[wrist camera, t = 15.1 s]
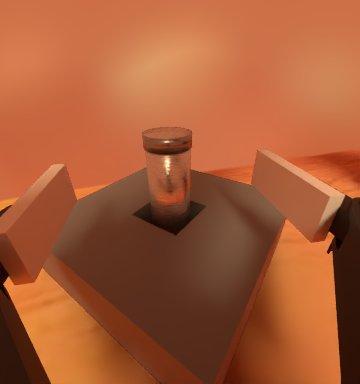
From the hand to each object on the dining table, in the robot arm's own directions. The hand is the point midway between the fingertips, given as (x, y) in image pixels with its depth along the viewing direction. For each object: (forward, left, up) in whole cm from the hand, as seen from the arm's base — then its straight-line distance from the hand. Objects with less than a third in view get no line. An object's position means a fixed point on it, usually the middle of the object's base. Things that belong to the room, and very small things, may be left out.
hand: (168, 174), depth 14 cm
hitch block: (-3, -3, -12) cm, 13 cm away
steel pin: (-3, -3, -12) cm, 13 cm away
